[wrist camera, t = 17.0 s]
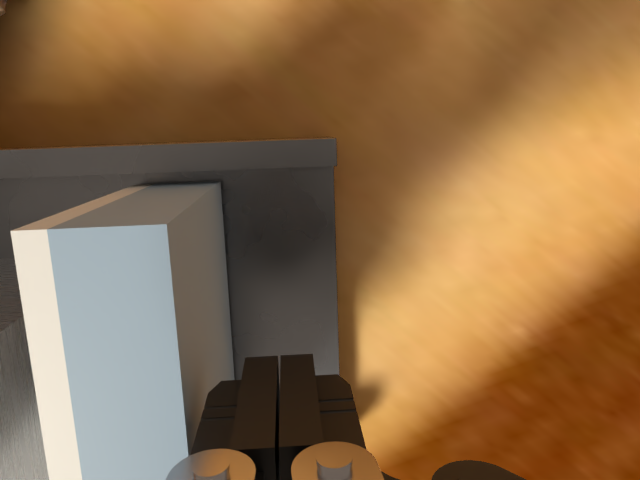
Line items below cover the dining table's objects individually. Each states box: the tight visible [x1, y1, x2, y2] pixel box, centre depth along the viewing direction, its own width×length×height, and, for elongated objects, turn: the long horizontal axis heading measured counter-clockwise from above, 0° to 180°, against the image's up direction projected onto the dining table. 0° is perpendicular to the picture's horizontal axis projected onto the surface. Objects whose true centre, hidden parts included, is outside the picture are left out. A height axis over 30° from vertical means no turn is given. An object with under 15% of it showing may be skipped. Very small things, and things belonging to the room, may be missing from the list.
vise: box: [0, 137, 339, 383], centre depth 14 cm, size 18×11×9 cm, turn 92°
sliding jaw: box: [10, 181, 235, 480], centre depth 14 cm, size 3×9×8 cm, turn 2°
